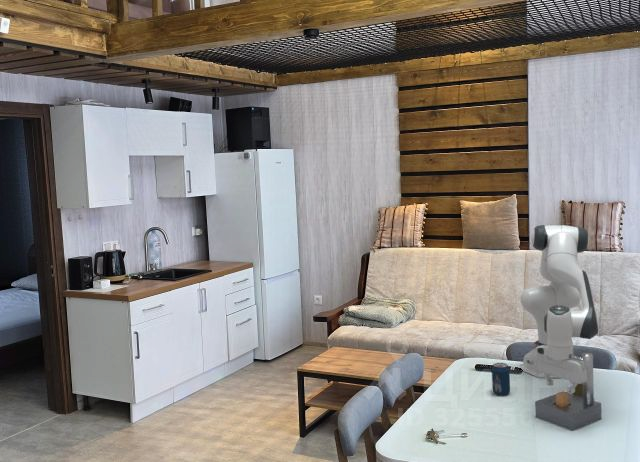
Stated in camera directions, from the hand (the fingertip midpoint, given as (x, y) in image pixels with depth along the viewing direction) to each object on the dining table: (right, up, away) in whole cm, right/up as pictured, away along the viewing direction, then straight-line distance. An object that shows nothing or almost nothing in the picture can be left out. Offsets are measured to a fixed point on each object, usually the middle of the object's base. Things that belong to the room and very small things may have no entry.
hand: (560, 388), depth 235 cm
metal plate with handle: (+4, -11, +2) cm, 12 cm away
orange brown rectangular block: (+1, -12, +1) cm, 12 cm away
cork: (+14, -9, +18) cm, 24 cm away
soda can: (-13, -10, +31) cm, 35 cm away
